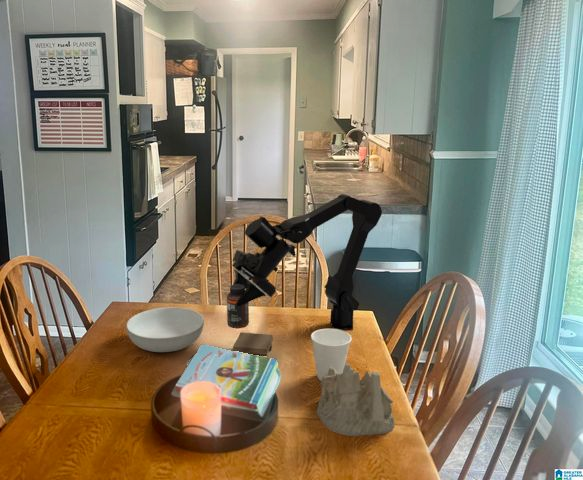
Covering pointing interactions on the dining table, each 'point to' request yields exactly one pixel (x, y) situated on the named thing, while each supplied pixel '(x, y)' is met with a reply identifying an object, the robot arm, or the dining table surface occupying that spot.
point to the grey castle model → (354, 403)
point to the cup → (330, 350)
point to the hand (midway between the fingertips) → (233, 301)
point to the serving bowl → (165, 328)
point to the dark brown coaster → (253, 343)
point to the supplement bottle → (237, 308)
